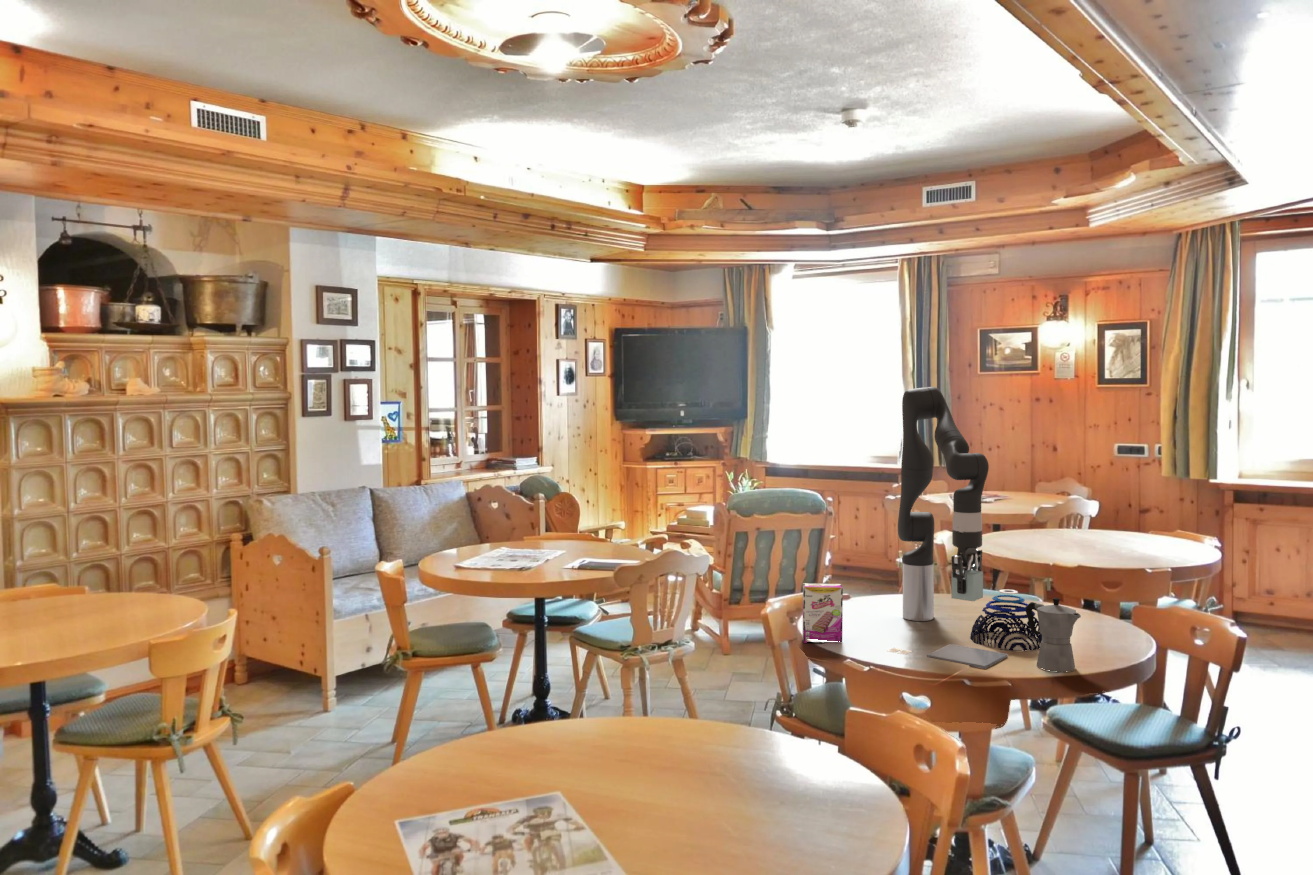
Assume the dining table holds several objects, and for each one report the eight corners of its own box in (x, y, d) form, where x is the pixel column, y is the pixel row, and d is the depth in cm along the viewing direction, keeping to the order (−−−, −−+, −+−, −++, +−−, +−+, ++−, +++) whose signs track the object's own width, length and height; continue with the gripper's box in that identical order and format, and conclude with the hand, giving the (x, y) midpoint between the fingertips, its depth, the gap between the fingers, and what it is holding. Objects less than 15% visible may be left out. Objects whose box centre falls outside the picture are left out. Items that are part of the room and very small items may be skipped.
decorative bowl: (1034, 632, 276) (1034, 583, 275) (1056, 651, 256) (1057, 599, 255) (964, 631, 278) (964, 583, 277) (981, 650, 258) (981, 598, 257)
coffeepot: (1090, 670, 239) (1091, 599, 238) (1068, 677, 233) (1069, 605, 232) (1036, 656, 251) (1036, 589, 250) (1014, 662, 246) (1014, 594, 245)
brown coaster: (889, 642, 267) (889, 641, 267) (935, 651, 258) (935, 649, 258) (863, 653, 257) (863, 651, 257) (911, 662, 247) (911, 661, 247)
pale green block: (961, 594, 255) (961, 568, 255) (982, 597, 251) (982, 571, 251) (951, 598, 251) (951, 572, 250) (973, 601, 246) (973, 574, 246)
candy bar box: (803, 643, 267) (802, 586, 266) (802, 639, 272) (801, 582, 271) (843, 644, 266) (843, 586, 265) (841, 639, 271) (841, 583, 270)
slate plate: (950, 646, 262) (950, 643, 262) (1007, 656, 251) (1007, 653, 251) (927, 657, 252) (927, 654, 252) (985, 668, 241) (985, 665, 241)
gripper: (965, 524, 258) (965, 585, 258) (941, 530, 247) (941, 593, 248) (992, 526, 252) (992, 588, 253) (969, 533, 242) (968, 597, 243)
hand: (967, 591), depth 251 cm, fingers closed on pale green block, 6 cm apart
